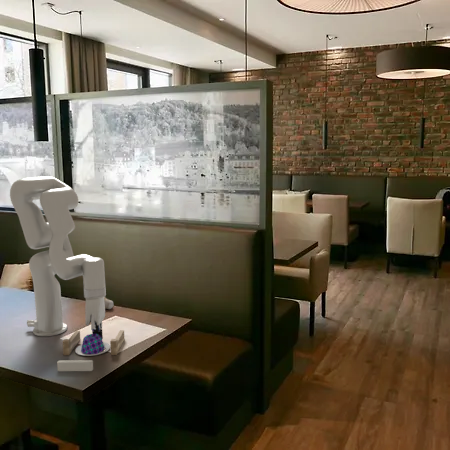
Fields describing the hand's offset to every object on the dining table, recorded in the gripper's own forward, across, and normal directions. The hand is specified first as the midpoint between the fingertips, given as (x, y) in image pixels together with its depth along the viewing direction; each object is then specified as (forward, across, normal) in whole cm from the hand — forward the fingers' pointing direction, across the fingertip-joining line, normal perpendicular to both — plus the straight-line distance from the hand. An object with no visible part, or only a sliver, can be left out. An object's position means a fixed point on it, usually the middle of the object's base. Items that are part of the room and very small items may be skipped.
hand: (97, 340), depth 176 cm
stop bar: (+1, +21, -2) cm, 21 cm away
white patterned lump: (+1, -39, -8) cm, 40 cm away
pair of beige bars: (+1, +2, 0) cm, 3 cm away
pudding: (+2, +5, 0) cm, 6 cm away
